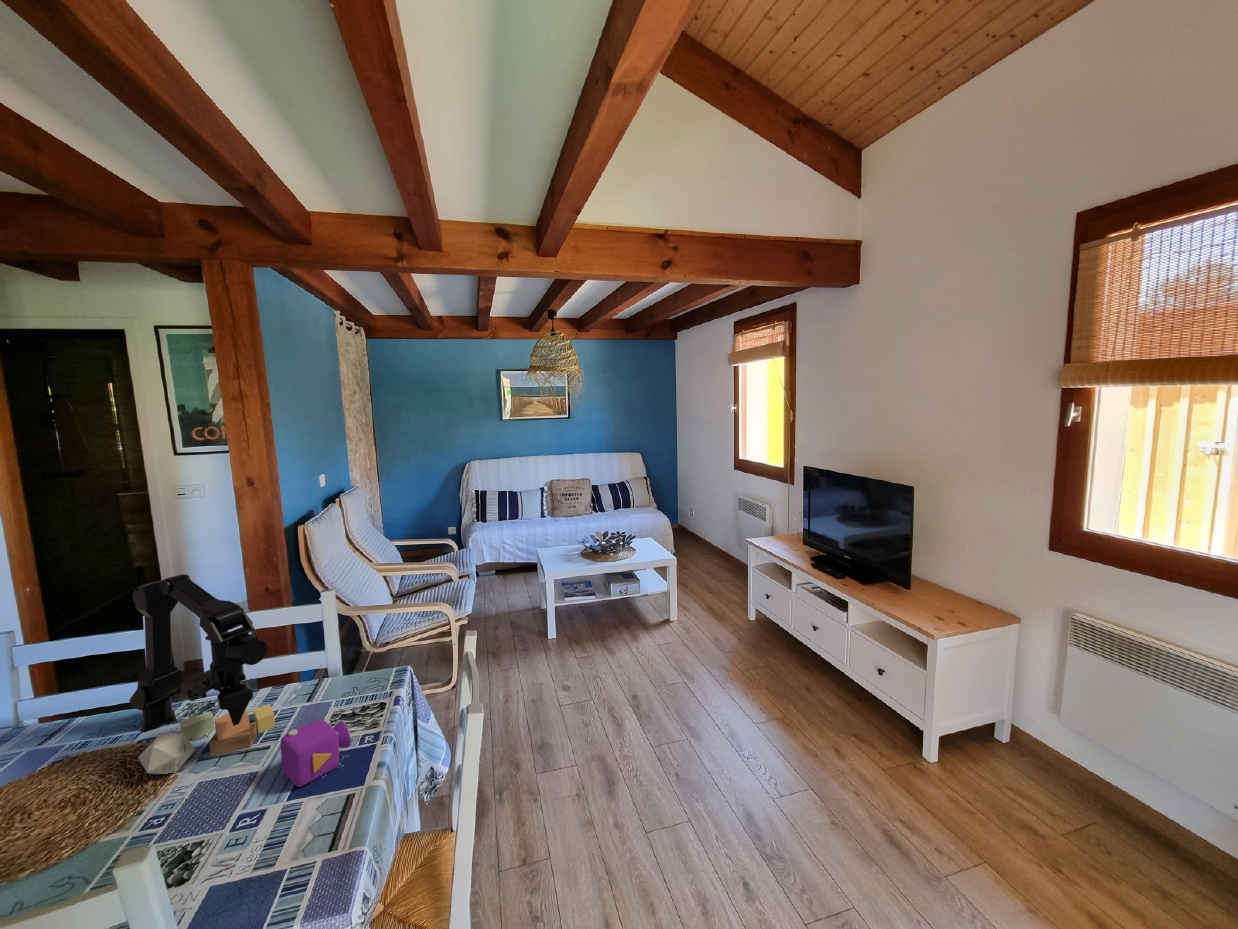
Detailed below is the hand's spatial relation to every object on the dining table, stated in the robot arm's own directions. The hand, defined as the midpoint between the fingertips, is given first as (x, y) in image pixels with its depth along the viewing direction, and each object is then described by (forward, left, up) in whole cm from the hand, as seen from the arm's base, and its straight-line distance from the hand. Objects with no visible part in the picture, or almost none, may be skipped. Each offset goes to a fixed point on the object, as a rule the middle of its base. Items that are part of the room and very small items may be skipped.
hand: (232, 716), depth 119 cm
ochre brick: (-4, +7, -8) cm, 11 cm away
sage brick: (-13, -6, -8) cm, 16 cm away
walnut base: (0, 0, -8) cm, 8 cm away
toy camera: (+24, +12, -8) cm, 28 cm away
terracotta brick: (0, 0, -4) cm, 4 cm away
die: (-1, -12, -8) cm, 14 cm away
